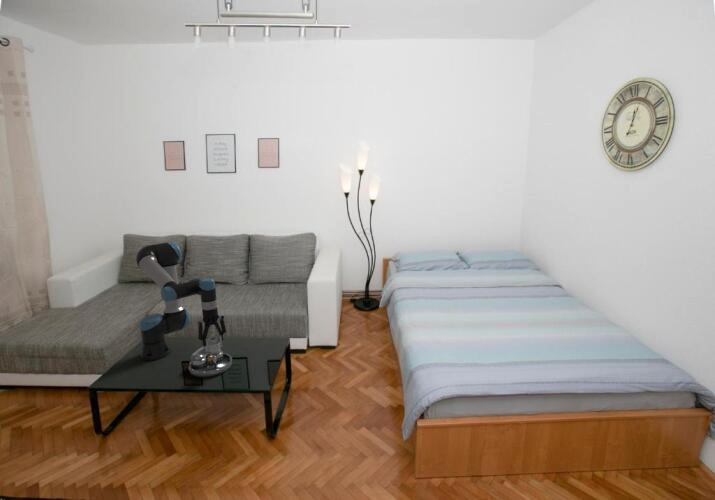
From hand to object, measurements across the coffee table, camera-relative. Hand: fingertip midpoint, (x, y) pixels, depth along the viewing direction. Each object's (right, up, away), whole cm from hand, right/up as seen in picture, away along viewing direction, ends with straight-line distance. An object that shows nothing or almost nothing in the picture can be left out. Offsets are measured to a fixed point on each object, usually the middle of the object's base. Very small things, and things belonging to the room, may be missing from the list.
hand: (213, 348), depth 210 cm
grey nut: (0, 0, 0) cm, 0 cm away
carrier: (-4, -12, +7) cm, 14 cm away
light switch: (-12, -11, +10) cm, 19 cm away
